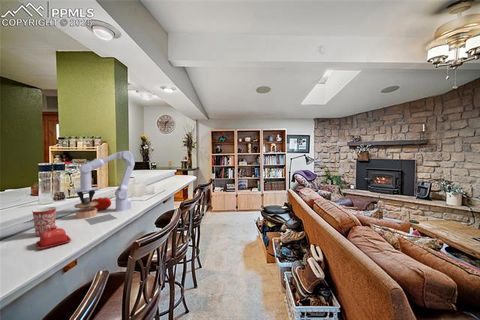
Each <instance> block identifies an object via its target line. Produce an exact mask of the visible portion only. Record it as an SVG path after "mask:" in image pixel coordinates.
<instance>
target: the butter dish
mask: <svg viewBox="0 0 480 320" xmlns="http://www.w3.org/2000/svg"><path fill="white" fill-rule="evenodd" d="M71 241H72V238H71V237H70V236H69V235H68V234H67V233H66V230H65V229H64V228H60V227H59V228H58V226H57V225H55V226H52V227H50V230H47V231H44V232H43V233H42V234H41V236H40V237H39V240H38V241H36V242H35V245H36V247H37V248H38V249H40V250H43V249H48V248H53V247H55V246H59V245H64V244H66V243H69V242H71Z"/></svg>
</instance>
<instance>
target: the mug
mask: <svg viewBox="0 0 480 320" xmlns="http://www.w3.org/2000/svg"><path fill="white" fill-rule="evenodd" d="M56 209H57V207H56V206H43V207H38V208H34V209H33V210H32V217H33V223H34V224H33V225H34V226H33V227H34V231H35V232H34V233H35V237H38V238H40V236H41V234H42V233H43V232H44V231H47V230H50V227H52V226H56V217H57V216H56V214H57V213H56V211H57V210H56Z"/></svg>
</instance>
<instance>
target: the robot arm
mask: <svg viewBox="0 0 480 320" xmlns="http://www.w3.org/2000/svg"><path fill="white" fill-rule="evenodd" d="M117 159H121V160H122V161H124V162H125V164H126V165H125V169H124V171H123V175H122V177H121V181H120V184H119V185H118V186H117V189H116V190H115V192H114V195H115V199H114V201H115V209H114V210H113V212H116V213H121V212H126V211H129V210H132V200H131V198H130V197H128V186H129V183H130V180H131V176H132V174H133V172H134V171H133V170H134V168H135V164H136V162H135V158H134V154H133V153H132V152H131V151H129V150H122V151H118V152H115V153H112V154H110V155H108V156H106V157H103V158H93V160H91V161H87V162H86V163H84V164H83V163H82V164H80V166H79V168H78V169H79V171H80V173H79V175H80V176H79V178H80V179H79V182H80V183H79V184H80V185H79V186H80V188H79V189H72V190H71V194H73V195H74V194H77V196H78V198H79V199H80V203H82V204H84V200H83V198H84V195H85V194H84V193H87V192H88V197H90V202H91V201H92V200H93V197H94V195H95V193H96V191H100V187H98V186H97V187H92V174H91V172H92V171H94V170H96V169H98V168H99V169H100V168H101V167H103V166H104V165H105V164H106V163H109V162H111V161H113V160H117Z"/></svg>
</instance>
